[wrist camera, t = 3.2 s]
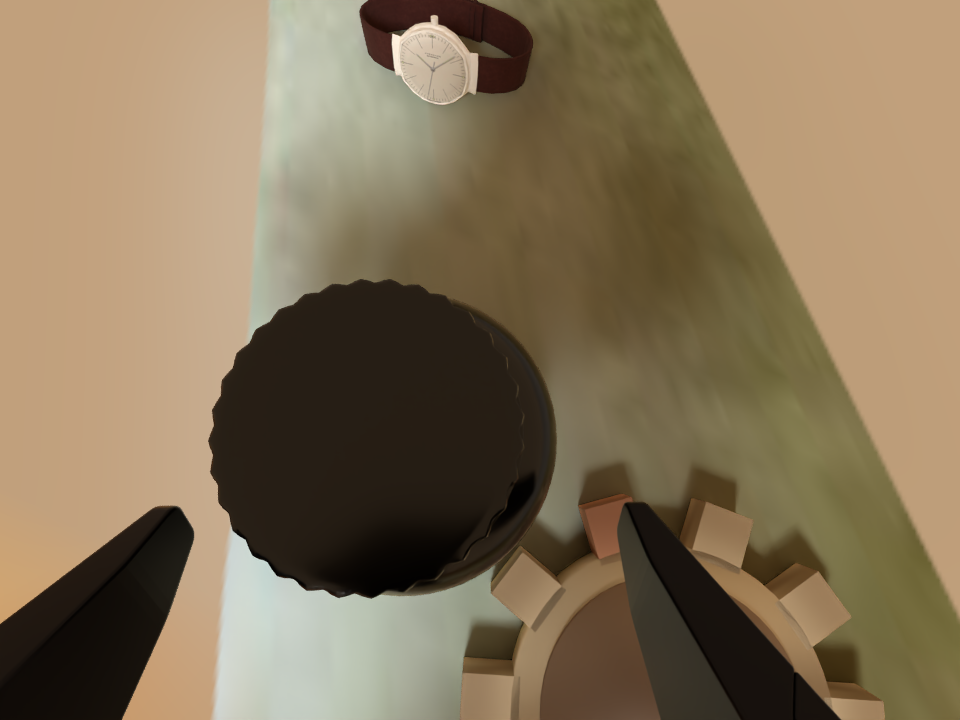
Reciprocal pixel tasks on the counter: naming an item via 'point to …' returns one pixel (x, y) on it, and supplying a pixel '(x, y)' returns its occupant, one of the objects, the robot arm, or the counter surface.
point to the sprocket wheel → (611, 633)
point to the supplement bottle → (382, 441)
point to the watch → (446, 46)
